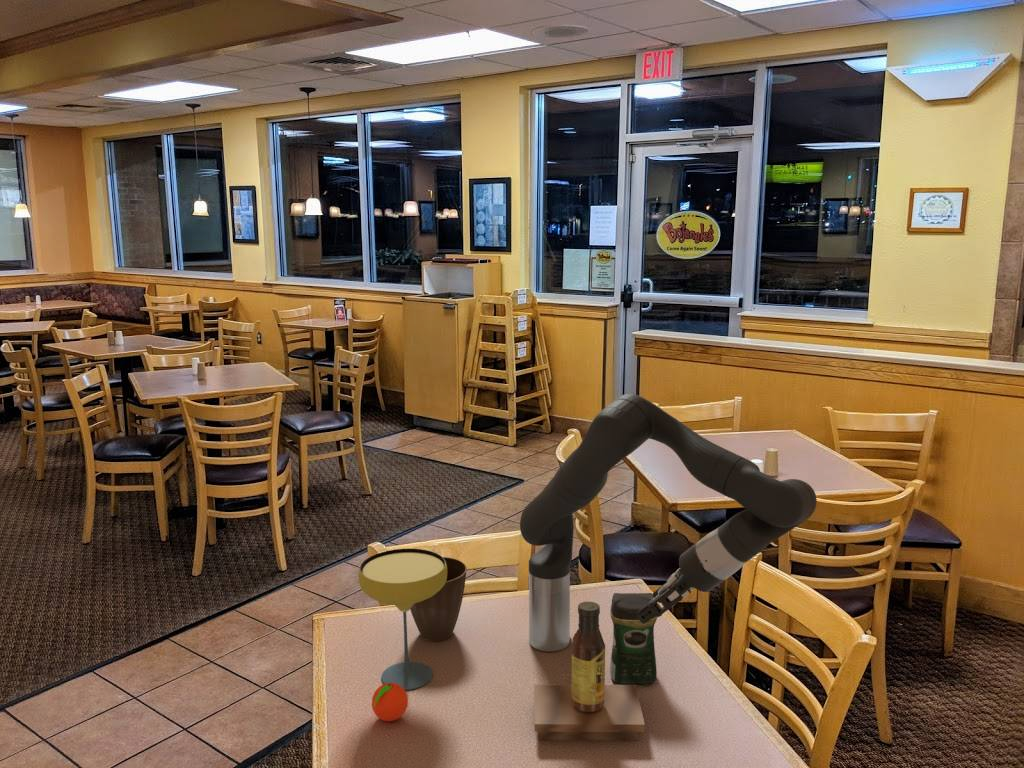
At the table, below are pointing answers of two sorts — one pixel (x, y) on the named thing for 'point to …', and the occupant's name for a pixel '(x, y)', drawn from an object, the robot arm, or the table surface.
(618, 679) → the coffee jar
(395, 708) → the clementine
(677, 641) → the table surface
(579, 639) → the sauce bottle
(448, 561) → the plant pot
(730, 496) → the robot arm
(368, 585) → the cocktail glass
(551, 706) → the walnut shelf
